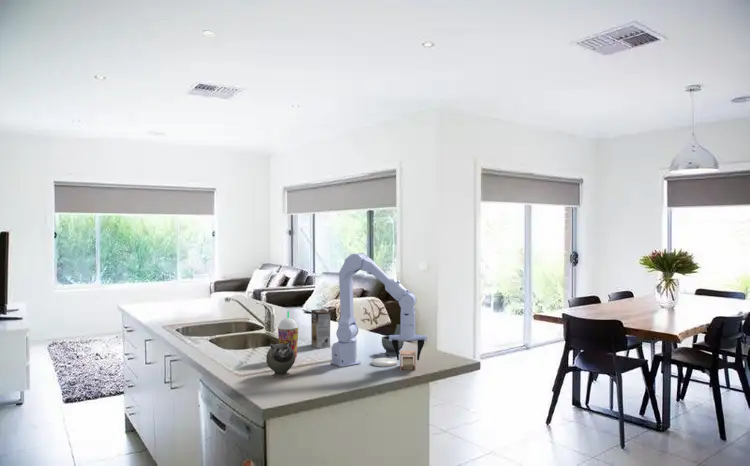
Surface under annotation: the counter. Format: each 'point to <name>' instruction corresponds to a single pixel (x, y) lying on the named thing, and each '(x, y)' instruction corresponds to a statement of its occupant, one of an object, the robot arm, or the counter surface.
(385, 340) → the mortar and pestle
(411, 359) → the block
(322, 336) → the coffee box
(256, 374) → the counter surface
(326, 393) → the counter surface
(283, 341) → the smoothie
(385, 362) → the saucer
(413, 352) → the cover
